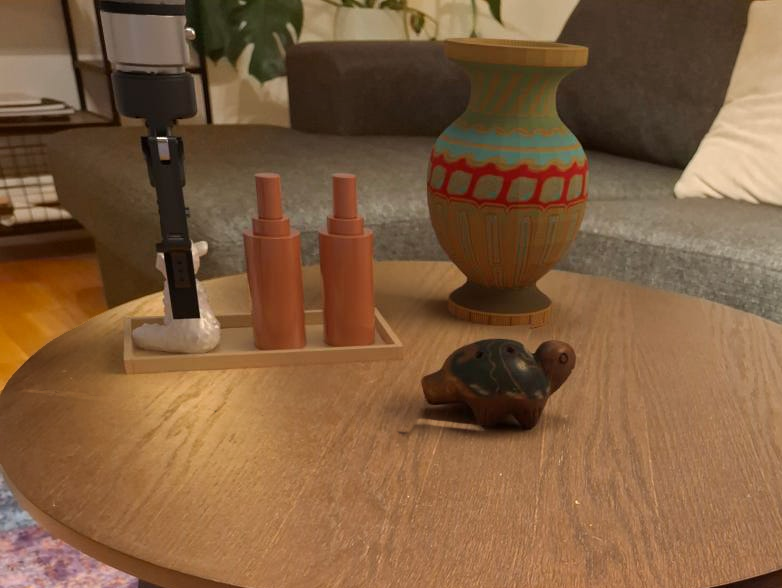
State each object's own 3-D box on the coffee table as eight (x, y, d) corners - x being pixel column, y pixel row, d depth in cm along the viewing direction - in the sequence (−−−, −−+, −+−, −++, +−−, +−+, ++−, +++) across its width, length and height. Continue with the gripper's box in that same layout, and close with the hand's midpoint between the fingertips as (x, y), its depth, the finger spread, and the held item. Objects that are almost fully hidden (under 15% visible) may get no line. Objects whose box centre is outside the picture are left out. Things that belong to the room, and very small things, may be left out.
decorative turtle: (584, 433, 89) (590, 354, 84) (433, 449, 86) (430, 369, 81) (556, 391, 96) (561, 316, 91) (416, 405, 93) (412, 329, 88)
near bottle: (245, 349, 101) (228, 177, 91) (264, 333, 106) (250, 168, 96) (297, 354, 101) (284, 182, 90) (313, 338, 106) (304, 172, 95)
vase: (440, 287, 128) (446, 33, 110) (579, 300, 126) (608, 45, 109) (409, 328, 112) (411, 40, 95) (567, 344, 110) (599, 53, 93)
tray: (126, 379, 94) (123, 359, 93) (127, 335, 105) (123, 317, 104) (403, 364, 102) (403, 346, 101) (376, 324, 113) (376, 307, 112)
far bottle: (316, 345, 104) (307, 177, 93) (332, 330, 108) (325, 168, 98) (367, 351, 103) (363, 182, 93) (380, 335, 108) (378, 173, 97)
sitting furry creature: (199, 328, 106) (184, 218, 99) (248, 345, 102) (237, 232, 95) (130, 346, 100) (109, 231, 93) (180, 365, 96) (162, 246, 89)
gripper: (200, 83, 77) (228, 333, 89) (186, 58, 96) (211, 268, 108) (107, 80, 75) (149, 337, 87) (111, 56, 94) (145, 269, 106)
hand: (183, 299), depth 98 cm, fingers open, 13 cm apart
